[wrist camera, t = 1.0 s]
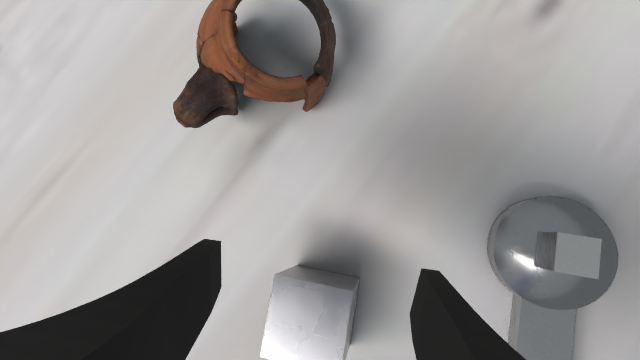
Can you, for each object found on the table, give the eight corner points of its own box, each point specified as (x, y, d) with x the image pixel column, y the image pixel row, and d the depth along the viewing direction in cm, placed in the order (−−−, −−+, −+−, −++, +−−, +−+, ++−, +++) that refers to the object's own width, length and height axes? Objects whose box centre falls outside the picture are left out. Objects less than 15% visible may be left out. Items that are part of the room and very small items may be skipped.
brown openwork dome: (248, -3, 28) (267, -79, 21) (331, 79, 31) (377, 38, 23) (141, 101, 25) (117, 57, 18) (242, 184, 27) (261, 177, 20)
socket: (349, 345, 23) (339, 377, 18) (285, 330, 24) (259, 356, 19) (359, 277, 23) (352, 290, 18) (297, 265, 24) (274, 274, 19)
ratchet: (583, 493, 19) (632, 560, 16) (462, 458, 21) (480, 512, 17) (605, 207, 21) (655, 202, 17) (493, 191, 22) (515, 183, 19)
